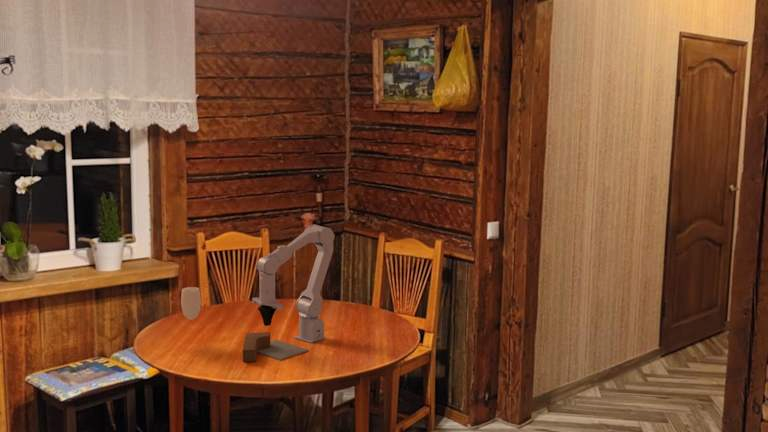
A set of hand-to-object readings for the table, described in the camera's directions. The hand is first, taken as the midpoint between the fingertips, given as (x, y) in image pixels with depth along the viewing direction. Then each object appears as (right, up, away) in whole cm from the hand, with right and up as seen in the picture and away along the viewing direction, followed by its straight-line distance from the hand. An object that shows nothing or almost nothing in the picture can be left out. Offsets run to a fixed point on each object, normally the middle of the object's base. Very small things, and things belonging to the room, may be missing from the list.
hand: (267, 325), depth 283 cm
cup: (-29, -7, +4) cm, 30 cm away
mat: (+4, -9, -3) cm, 10 cm away
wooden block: (-4, -5, +2) cm, 7 cm away
